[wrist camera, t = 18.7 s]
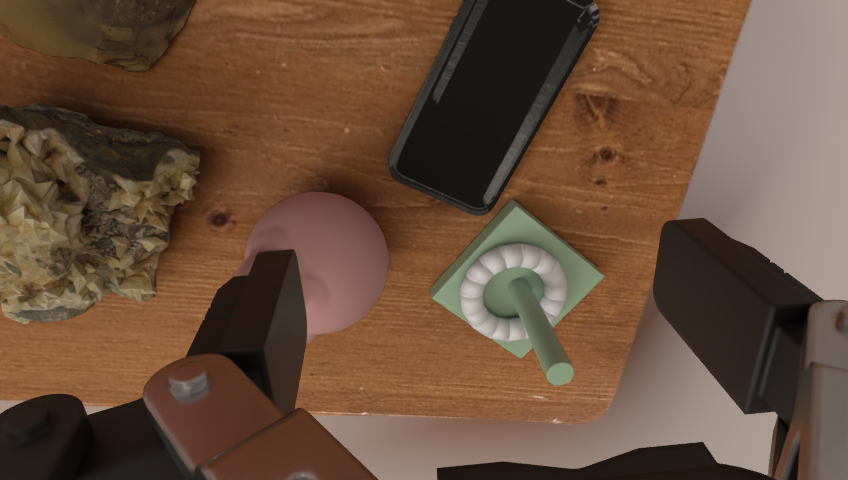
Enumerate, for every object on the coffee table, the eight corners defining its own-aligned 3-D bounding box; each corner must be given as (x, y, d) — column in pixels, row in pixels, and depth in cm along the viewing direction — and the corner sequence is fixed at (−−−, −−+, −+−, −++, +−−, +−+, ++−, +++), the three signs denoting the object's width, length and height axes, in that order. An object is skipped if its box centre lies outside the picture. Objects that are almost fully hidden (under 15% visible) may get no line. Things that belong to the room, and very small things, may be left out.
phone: (607, 8, 34) (486, 221, 39) (600, 8, 35) (483, 214, 40) (493, -59, 32) (381, 174, 37) (489, -58, 33) (380, 169, 38)
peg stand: (511, 198, 40) (561, 274, 29) (597, 267, 42) (671, 359, 32) (429, 288, 42) (448, 389, 32) (516, 348, 45) (560, 458, 34)
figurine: (219, 274, 40) (162, 383, 29) (300, 147, 37) (271, 216, 26) (327, 331, 43) (311, 450, 32) (411, 218, 40) (427, 307, 29)
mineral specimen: (178, 321, 41) (123, 415, 32) (-17, 273, 39) (-135, 361, 30) (221, 136, 36) (170, 186, 27) (-1, 65, 33) (-139, 95, 24)
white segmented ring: (507, 219, 39) (513, 228, 37) (584, 278, 41) (592, 288, 40) (437, 298, 41) (439, 309, 39) (514, 349, 43) (519, 362, 42)
